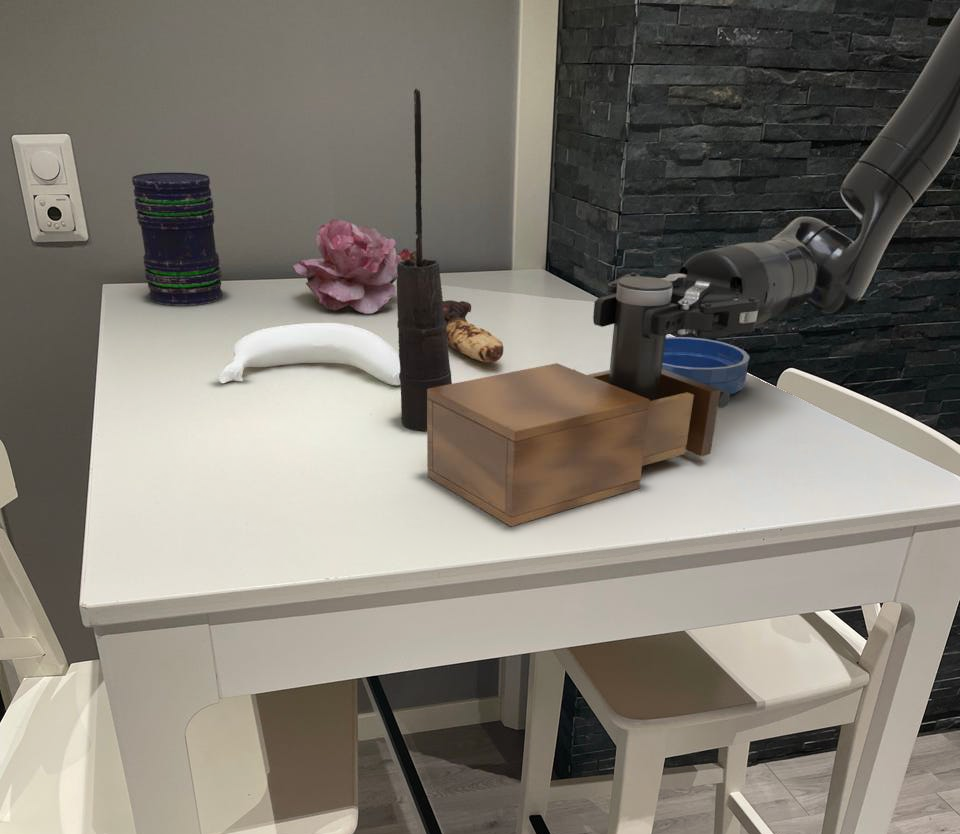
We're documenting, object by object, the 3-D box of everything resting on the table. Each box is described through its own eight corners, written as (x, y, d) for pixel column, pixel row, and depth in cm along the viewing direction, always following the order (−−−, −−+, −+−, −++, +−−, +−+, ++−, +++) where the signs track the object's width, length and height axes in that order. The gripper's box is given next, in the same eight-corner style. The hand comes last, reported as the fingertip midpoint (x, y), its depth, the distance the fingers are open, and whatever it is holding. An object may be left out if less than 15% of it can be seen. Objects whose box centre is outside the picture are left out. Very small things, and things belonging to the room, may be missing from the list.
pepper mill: (664, 437, 86) (684, 284, 79) (627, 447, 83) (644, 290, 76) (629, 422, 89) (645, 274, 82) (592, 431, 86) (606, 279, 79)
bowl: (767, 390, 104) (773, 357, 102) (688, 410, 98) (693, 376, 96) (684, 362, 113) (688, 331, 111) (606, 378, 106) (609, 346, 104)
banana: (426, 375, 106) (346, 413, 95) (290, 355, 114) (202, 388, 103) (424, 329, 103) (342, 363, 92) (284, 312, 111) (194, 341, 100)
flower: (270, 276, 132) (283, 203, 126) (360, 278, 141) (376, 210, 135) (325, 331, 125) (342, 256, 118) (416, 330, 134) (436, 260, 128)
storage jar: (195, 285, 139) (181, 170, 131) (238, 297, 133) (226, 178, 125) (134, 296, 132) (115, 176, 124) (176, 309, 127) (159, 184, 119)
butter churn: (389, 399, 99) (380, 82, 84) (481, 407, 97) (489, 86, 82) (364, 430, 91) (351, 87, 76) (464, 438, 90) (470, 91, 75)
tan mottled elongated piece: (391, 339, 119) (443, 379, 105) (389, 300, 116) (441, 335, 102) (462, 331, 122) (521, 368, 108) (461, 292, 119) (521, 325, 105)
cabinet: (551, 445, 89) (556, 362, 85) (639, 488, 81) (650, 399, 77) (427, 476, 82) (426, 388, 78) (510, 526, 74) (515, 431, 70)
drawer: (659, 412, 95) (667, 352, 92) (741, 445, 88) (752, 381, 84) (526, 445, 86) (530, 381, 83) (605, 484, 79) (612, 415, 76)
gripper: (674, 234, 91) (557, 256, 81) (813, 258, 83) (703, 286, 72) (664, 315, 95) (551, 347, 85) (796, 346, 87) (689, 385, 76)
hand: (622, 319), depth 79 cm, fingers closed on pepper mill, 4 cm apart
